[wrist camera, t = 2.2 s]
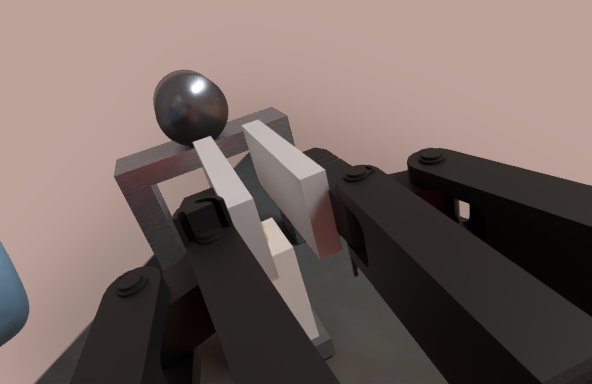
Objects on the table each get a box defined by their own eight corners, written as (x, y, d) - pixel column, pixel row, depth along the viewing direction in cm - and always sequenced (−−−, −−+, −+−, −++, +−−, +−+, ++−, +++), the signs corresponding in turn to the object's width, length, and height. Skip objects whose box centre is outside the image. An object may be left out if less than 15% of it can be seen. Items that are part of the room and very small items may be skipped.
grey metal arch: (177, 297, 40) (77, 107, 30) (173, 272, 45) (85, 97, 35) (317, 236, 44) (270, 49, 34) (301, 218, 48) (255, 46, 38)
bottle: (265, 390, 28) (213, 272, 23) (245, 334, 33) (199, 227, 28) (335, 353, 29) (302, 233, 24) (306, 305, 35) (273, 197, 29)
